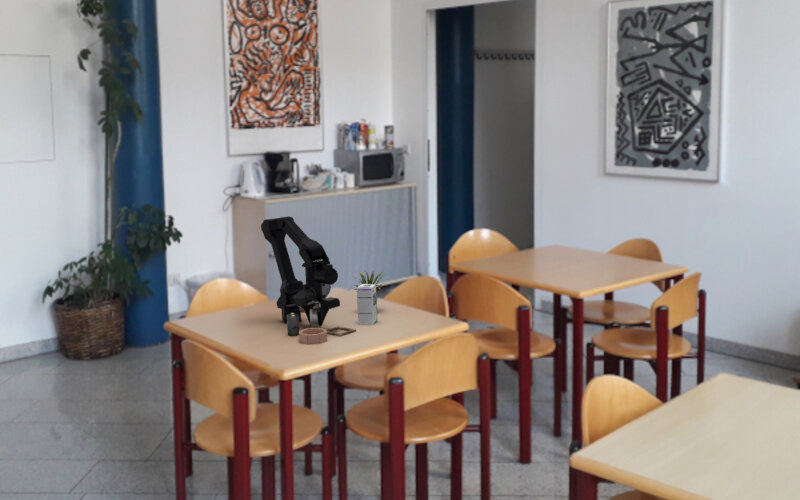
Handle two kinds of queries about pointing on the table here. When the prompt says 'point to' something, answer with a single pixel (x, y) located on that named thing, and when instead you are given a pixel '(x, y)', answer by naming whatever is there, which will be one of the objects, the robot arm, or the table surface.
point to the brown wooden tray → (340, 329)
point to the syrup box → (367, 304)
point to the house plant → (371, 280)
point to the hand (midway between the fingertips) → (315, 324)
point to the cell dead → (293, 324)
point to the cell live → (314, 318)
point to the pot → (312, 336)
